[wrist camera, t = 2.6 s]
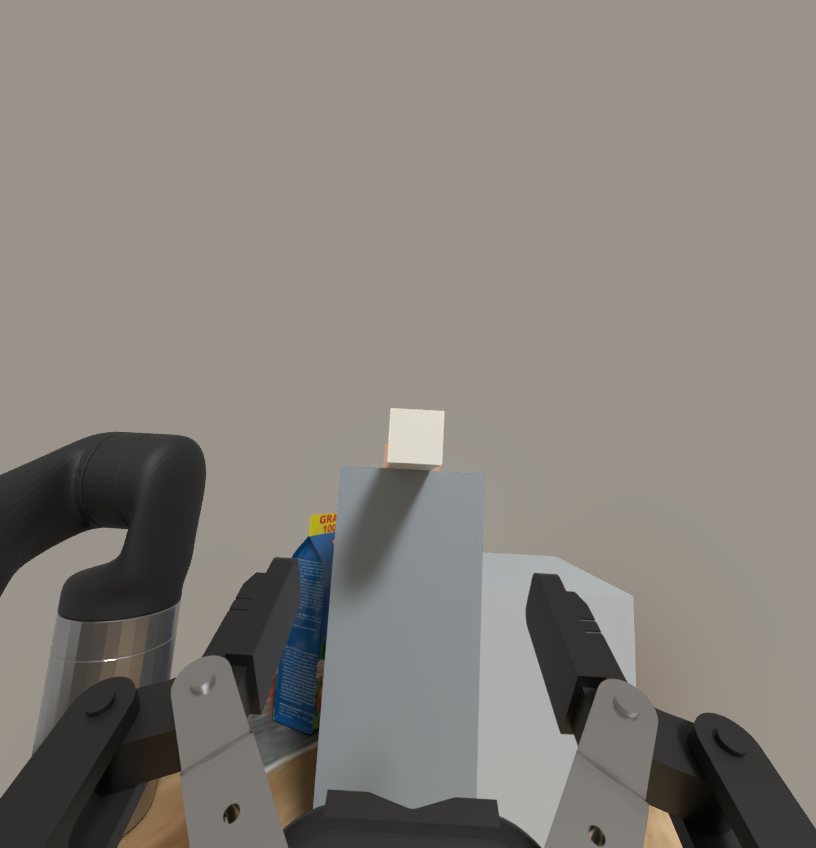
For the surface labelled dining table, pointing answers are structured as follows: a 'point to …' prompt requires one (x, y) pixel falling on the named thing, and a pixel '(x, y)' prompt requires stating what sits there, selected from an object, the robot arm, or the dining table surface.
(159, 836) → the dining table surface
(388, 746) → the riser
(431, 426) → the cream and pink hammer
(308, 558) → the blue food package
